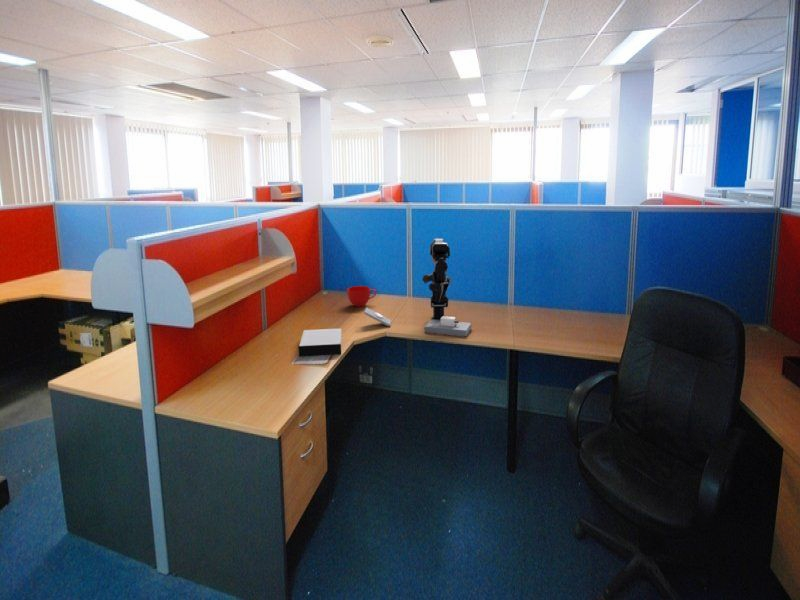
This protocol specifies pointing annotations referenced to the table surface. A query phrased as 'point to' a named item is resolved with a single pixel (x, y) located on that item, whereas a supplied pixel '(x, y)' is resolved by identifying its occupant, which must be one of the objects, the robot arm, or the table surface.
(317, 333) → the disc drive
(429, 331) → the socket
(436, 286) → the robot arm
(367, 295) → the ceramic cup
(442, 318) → the plug
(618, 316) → the table surface
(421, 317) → the table surface
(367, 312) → the light switch
